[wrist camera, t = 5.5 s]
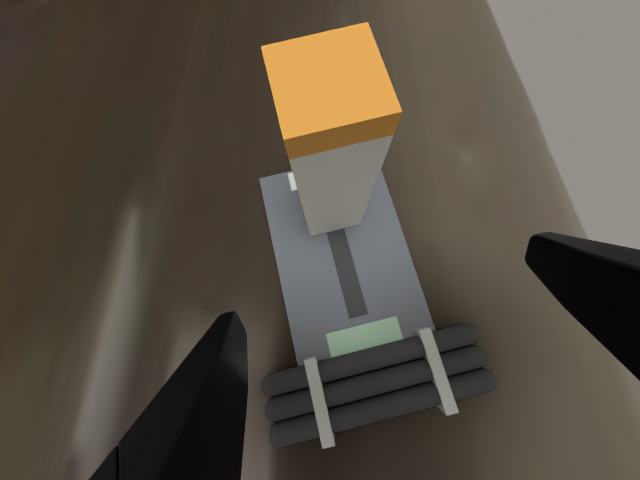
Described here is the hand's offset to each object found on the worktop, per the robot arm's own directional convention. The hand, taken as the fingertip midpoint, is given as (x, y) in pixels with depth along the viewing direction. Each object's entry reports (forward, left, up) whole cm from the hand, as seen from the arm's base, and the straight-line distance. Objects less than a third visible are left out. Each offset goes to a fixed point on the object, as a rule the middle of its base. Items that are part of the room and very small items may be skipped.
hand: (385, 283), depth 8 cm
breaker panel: (+2, +3, -12) cm, 13 cm away
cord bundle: (-3, -5, -12) cm, 14 cm away
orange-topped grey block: (+4, +6, -12) cm, 14 cm away
